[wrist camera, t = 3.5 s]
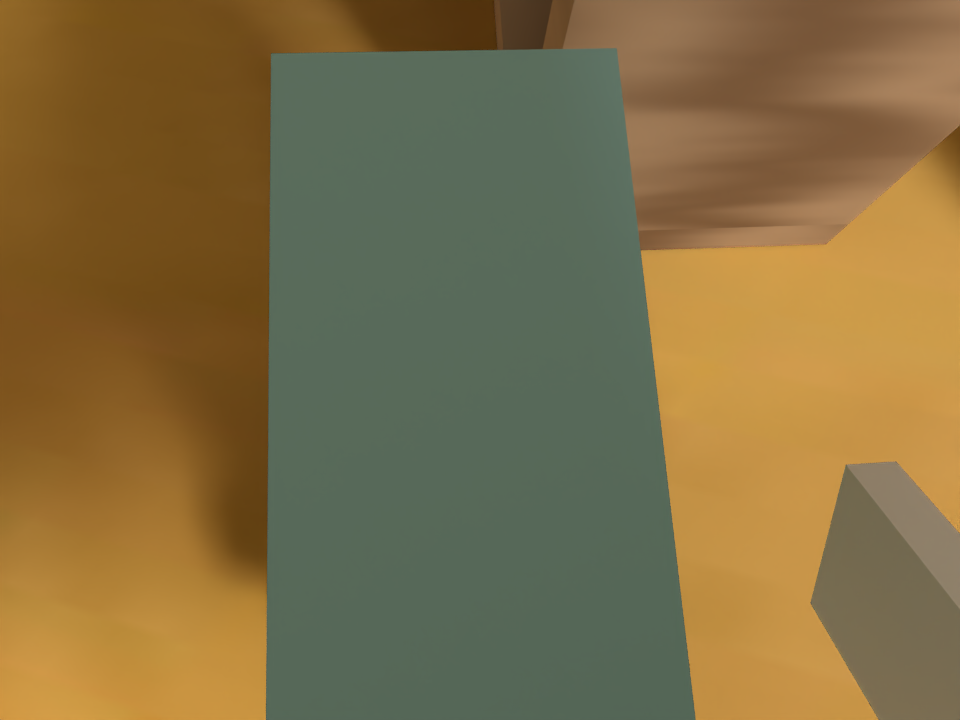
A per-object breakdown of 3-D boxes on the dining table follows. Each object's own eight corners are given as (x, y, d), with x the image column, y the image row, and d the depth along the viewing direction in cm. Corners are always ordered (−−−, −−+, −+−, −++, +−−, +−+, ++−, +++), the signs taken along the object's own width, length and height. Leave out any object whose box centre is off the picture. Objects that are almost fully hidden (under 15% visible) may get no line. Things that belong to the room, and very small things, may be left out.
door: (509, 360, 20) (617, 48, 9) (537, 751, 18) (731, 1029, 6) (319, 368, 20) (168, 54, 8) (322, 767, 18) (121, 1092, 6)
